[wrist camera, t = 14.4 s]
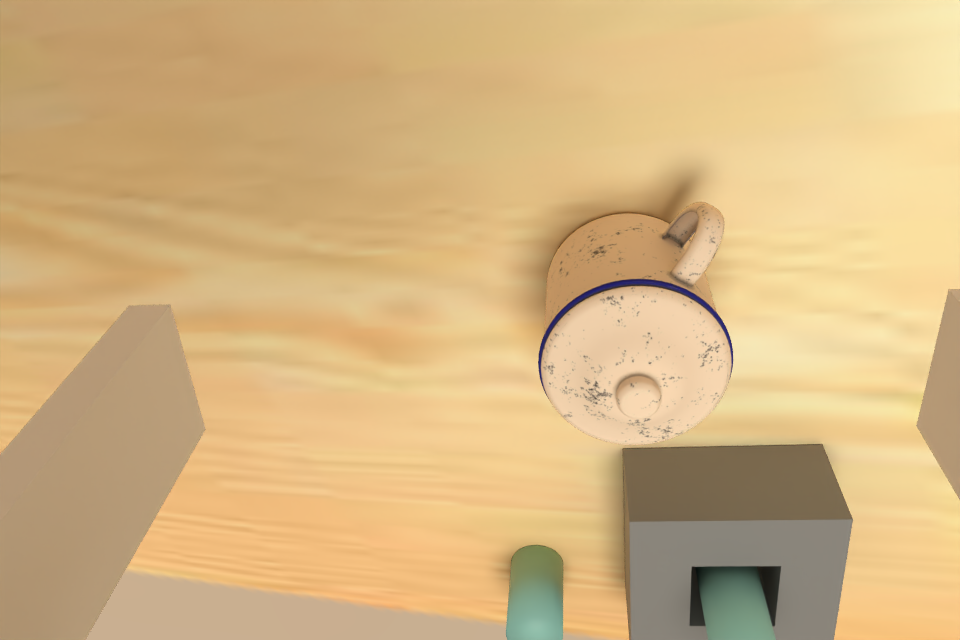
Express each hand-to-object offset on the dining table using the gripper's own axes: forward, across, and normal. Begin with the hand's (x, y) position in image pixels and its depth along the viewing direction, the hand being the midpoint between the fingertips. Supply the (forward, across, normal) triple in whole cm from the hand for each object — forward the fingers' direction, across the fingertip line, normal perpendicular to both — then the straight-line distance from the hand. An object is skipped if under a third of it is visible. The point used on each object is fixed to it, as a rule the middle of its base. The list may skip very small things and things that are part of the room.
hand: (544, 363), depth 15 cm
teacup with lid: (+31, +4, -13) cm, 34 cm away
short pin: (+30, -2, -37) cm, 48 cm away
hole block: (+30, +10, -32) cm, 45 cm away
